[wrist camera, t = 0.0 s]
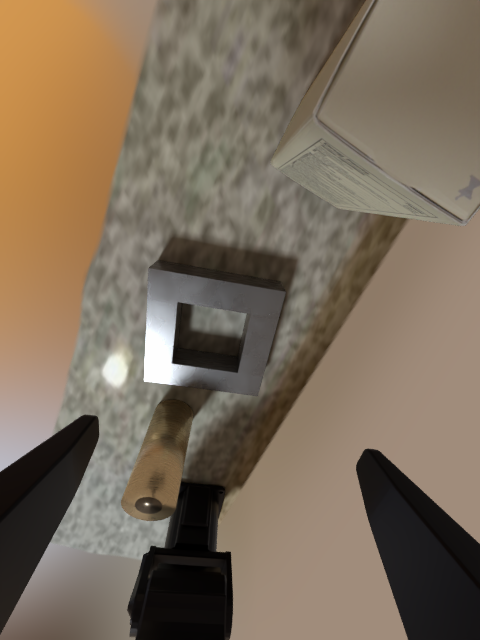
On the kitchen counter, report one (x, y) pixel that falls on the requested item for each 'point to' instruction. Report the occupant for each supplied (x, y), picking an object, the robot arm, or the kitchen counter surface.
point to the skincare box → (395, 115)
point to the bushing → (159, 463)
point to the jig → (216, 292)
